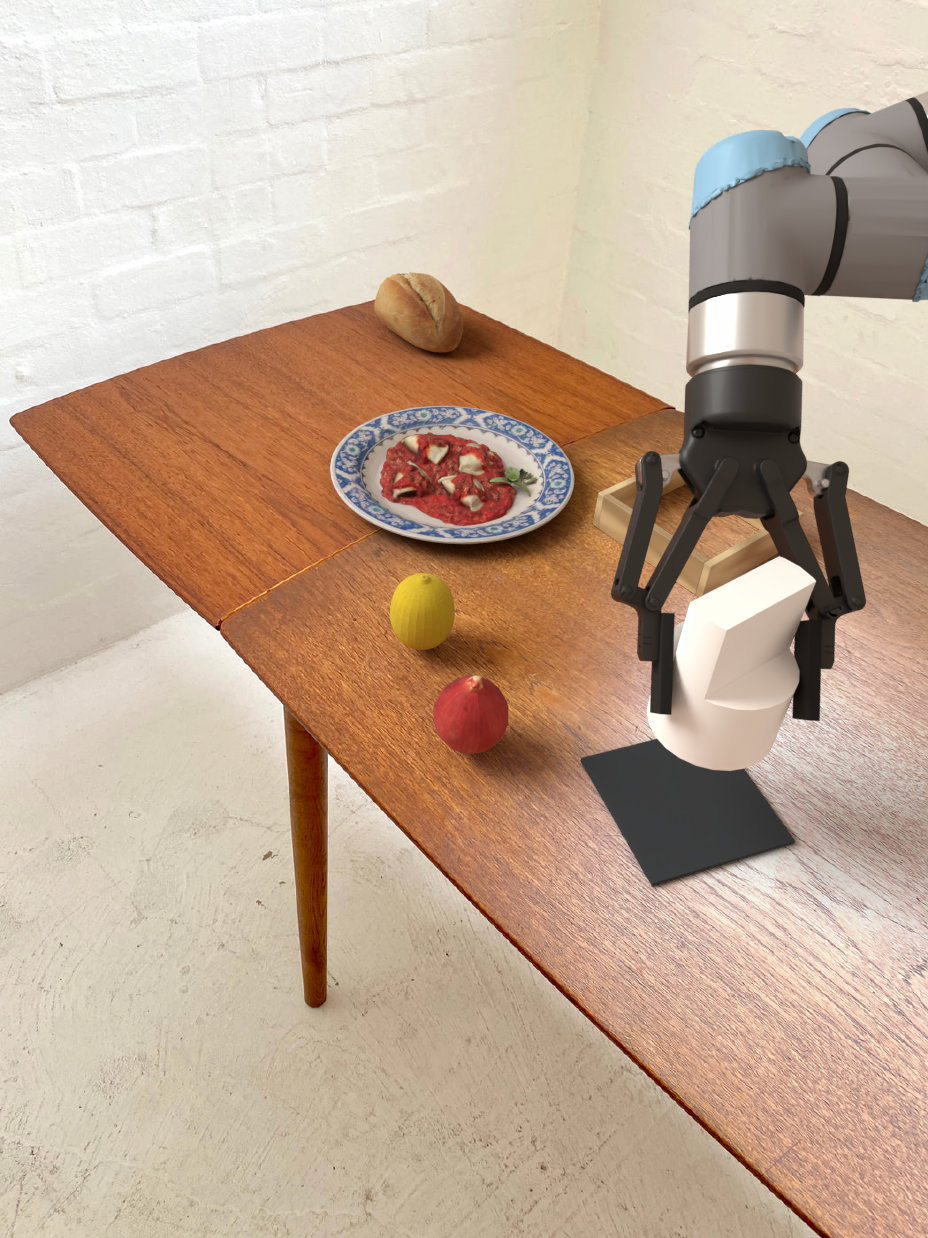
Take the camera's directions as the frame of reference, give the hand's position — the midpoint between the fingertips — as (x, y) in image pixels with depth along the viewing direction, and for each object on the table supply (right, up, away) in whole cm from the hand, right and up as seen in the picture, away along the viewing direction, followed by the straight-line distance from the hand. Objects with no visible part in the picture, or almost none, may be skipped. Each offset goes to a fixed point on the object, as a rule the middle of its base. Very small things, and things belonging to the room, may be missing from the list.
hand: (733, 716), depth 64 cm
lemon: (-21, +4, +22) cm, 31 cm away
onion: (-17, -4, +14) cm, 23 cm away
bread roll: (-24, +44, +67) cm, 83 cm away
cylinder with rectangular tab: (0, -1, +5) cm, 5 cm away
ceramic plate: (-19, +21, +41) cm, 50 cm away
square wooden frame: (+6, +15, +37) cm, 40 cm away
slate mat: (-1, -8, +11) cm, 13 cm away
